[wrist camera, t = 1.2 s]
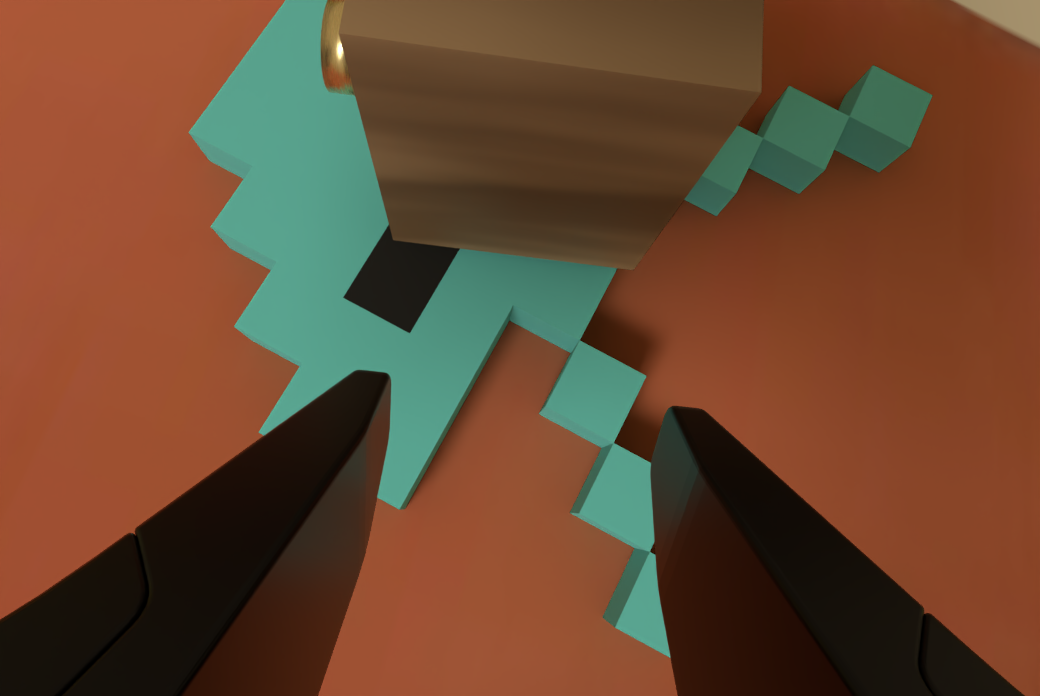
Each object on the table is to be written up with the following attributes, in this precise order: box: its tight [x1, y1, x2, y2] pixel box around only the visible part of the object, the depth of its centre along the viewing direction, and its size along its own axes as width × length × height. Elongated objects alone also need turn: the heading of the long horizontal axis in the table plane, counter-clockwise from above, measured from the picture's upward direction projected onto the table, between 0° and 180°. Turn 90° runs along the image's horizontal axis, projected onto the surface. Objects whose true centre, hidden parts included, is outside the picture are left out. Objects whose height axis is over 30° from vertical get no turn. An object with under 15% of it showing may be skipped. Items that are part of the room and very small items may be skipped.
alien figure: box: [189, 0, 933, 658], centre depth 23 cm, size 20×2×20 cm
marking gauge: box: [321, 0, 764, 270], centre depth 17 cm, size 8×8×9 cm
